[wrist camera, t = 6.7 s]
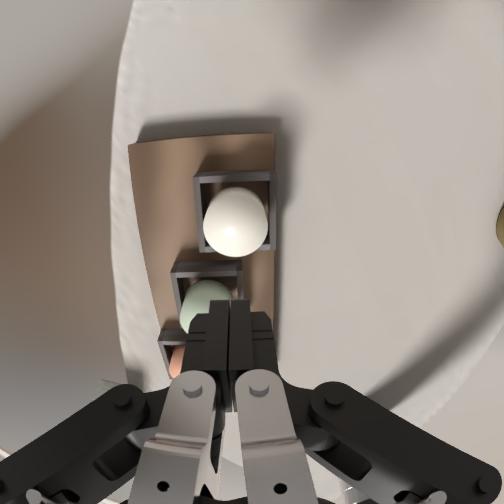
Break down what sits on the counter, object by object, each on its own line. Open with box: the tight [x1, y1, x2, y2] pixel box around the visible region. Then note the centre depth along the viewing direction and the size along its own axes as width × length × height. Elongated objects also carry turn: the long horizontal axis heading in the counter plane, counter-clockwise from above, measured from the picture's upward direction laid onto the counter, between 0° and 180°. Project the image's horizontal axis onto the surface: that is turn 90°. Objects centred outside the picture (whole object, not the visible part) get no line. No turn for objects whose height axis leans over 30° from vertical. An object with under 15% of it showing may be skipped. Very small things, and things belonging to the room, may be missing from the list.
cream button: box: [203, 186, 268, 257], centre depth 21 cm, size 4×4×3 cm
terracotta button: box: [169, 345, 185, 378], centre depth 29 cm, size 4×4×3 cm
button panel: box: [128, 133, 276, 379], centre depth 28 cm, size 12×28×4 cm, turn 1°
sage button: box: [180, 280, 233, 333], centre depth 25 cm, size 4×4×3 cm
